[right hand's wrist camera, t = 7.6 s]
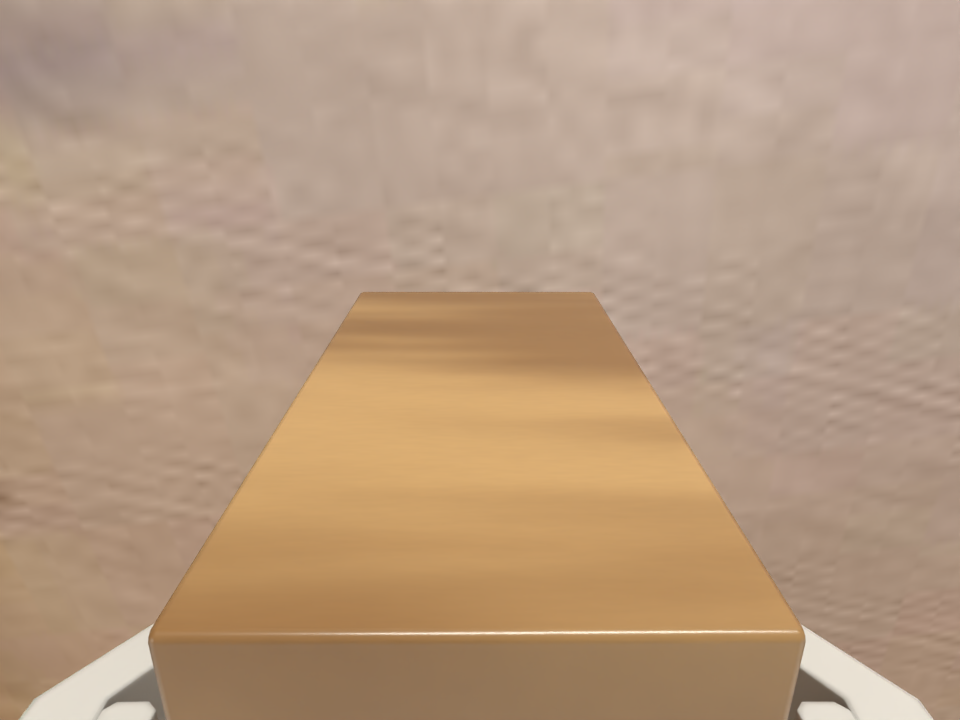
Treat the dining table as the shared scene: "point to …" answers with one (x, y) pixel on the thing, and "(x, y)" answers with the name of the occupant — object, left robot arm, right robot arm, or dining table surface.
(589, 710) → the bar
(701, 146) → the dining table surface
